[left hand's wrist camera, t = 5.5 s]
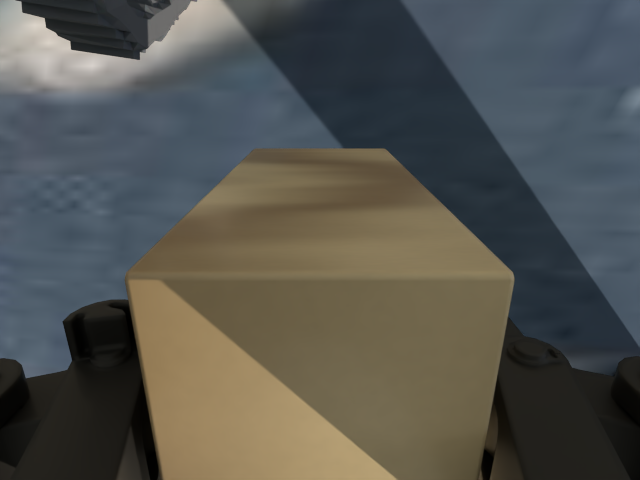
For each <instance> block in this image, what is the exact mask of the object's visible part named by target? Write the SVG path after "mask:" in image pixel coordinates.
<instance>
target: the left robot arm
mask: <svg viewBox="0 0 640 480" xmlns="http://www.w3.org/2000/svg"><path fill="white" fill-rule="evenodd" d="M63 325H64V329H65V333H66V337H67V341H68V345H69V349H70V353H71V357H72V362H71V364H70V366H69V368H68V370H65V371H61V372H57V373H52V374H46V375H41V376H36V377H31V378H25V374H24V371H23V368H22V365H21V364H20V363H19V362H17V361H16V360H12V359H5V358H2V359H0V480H161V478H160V472H159V467H158V461H157V455H156V450H155V444H154V439H153V433H152V428H151V422H150V417H149V411H148V406H147V400H146V395H145V389H144V384H143V378H142V372H141V367H140V361H139V356H138V350H137V345H136V339H135V334H134V328H133V323H132V317H131V312H130V306H129V301H128V300H108V301H102V302H97V303H94V304H91V305H88V306H85V307H82V308H80V309H78V310H77V311H75V312H73V313H71V314H70V315H69V316H68V317H67V318H66V319H65V320H64V321H63ZM479 480H640V357H639V356H635V357H628V358H624V359H623V360H622V361H620V362H619V363H618V367H617V370H616V373H615V377H614V376H609V375H604V374H598V373H593V372H588V371H583V370H578V369H574V368H572V367H571V365H570V363H569V361H568V360H567V359H566V357H565V356H564V355H563V354H562V353H561V352H560V351H559V350H557V349H556V348H554V347H553V346H551V345H550V344H547V343H545V342H542V341H540V340H537V339H534V338H530V337H525V336H523V334H522V333H521V332H520V331H519V329H518V328H517V327H516V326H515V324H514V323H513V322H512V321H511V320H510V318H509V317H508V319H507V325H506V330H505V336H504V341H503V347H502V352H501V358H500V363H499V369H498V375H497V380H496V386H495V391H494V397H493V402H492V408H491V413H490V419H489V424H488V430H487V436H486V441H485V447H484V452H483V458H482V463H481V469H480V474H479Z"/></svg>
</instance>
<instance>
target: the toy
mask: <svg viewBox="0 0 640 480" xmlns="http://www.w3.org/2000/svg"><path fill="white" fill-rule="evenodd" d="M17 1H21V2H22V12H23V13H27V14H31V15H35V16H39V17H43V18H45V22H46V28H48V29H50V30H52V31H54V32H56V33H57V35H58V36H60V37H62V38H64V39H67V40H69V41H71V50H77V51H84V52H90V53H97V54H104V55H110V56H117V57H124V58H131V59H137V60H140V52H143V53H145V52H146V49H147V48H148V47H149V46H150V45H151V44H152V43H153V42H154V41H162V40H163V38H164V37H165V36H166V35H167V33H168V31H169V30H170V27H171V25H174V21H175V20H178V16H179V15H180V14H181V13H182V12H183V11H184V10H186V9H187V7H188V5H189V4H190V1H195V2H197V0H17Z"/></svg>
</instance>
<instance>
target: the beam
mask: <svg viewBox="0 0 640 480" xmlns="http://www.w3.org/2000/svg"><path fill="white" fill-rule="evenodd" d="M125 284H126V289H127V295H128V301H129V306H130V312H131V317H132V323H133V328H134V334H135V339H136V345H137V350H138V356H139V361H140V367H141V372H142V378H143V384H144V389H145V395H146V400H147V406H148V411H149V417H150V422H151V428H152V433H153V439H154V444H155V450H156V455H157V461H158V467H159V472H160V478H161V480H479V474H480V469H481V463H482V458H483V452H484V447H485V441H486V436H487V430H488V424H489V419H490V413H491V408H492V402H493V397H494V391H495V386H496V380H497V375H498V369H499V363H500V358H501V352H502V347H503V341H504V336H505V330H506V325H507V319H508V313H509V308H510V302H511V297H512V291H513V286H514V275H513V272H512V271H511V270H510V269H509V268H508V267H507V266H506V265H505V264H504V263H503V262H502V261H501V260H500V259H499V258H498V257H497V256H496V255H494V254H493V253H492V252H491V251H490V250H489V249H488V248H487V247H486V246H485V245H484V244H483V243H482V242H481V241H480V240H479V239H478V238H477V237H476V236H475V235H474V234H473V233H472V232H471V231H470V230H469V229H468V228H467V227H466V226H465V225H464V224H462V223H461V222H460V221H459V220H458V219H457V218H456V217H455V216H454V215H453V214H452V213H451V212H450V211H449V210H448V209H447V208H446V207H445V206H444V205H443V204H442V203H441V202H440V201H439V200H438V199H437V198H436V197H435V196H434V195H433V194H432V193H430V192H429V191H428V190H427V189H426V188H425V187H424V186H423V185H422V184H421V183H420V182H419V181H418V180H417V179H416V178H415V177H414V176H413V175H412V174H411V173H410V172H409V171H408V170H407V169H406V168H405V167H404V166H403V165H402V164H401V163H400V162H398V161H397V160H396V159H395V158H394V157H393V156H392V155H391V154H390V153H389V152H388V151H387V150H386V149H254V150H253V151H252V152H251V153H250V154H249V155H247V156H246V157H245V158H244V159H243V160H242V161H241V162H240V163H239V164H238V165H237V166H236V167H235V168H234V169H233V170H232V171H231V172H230V173H229V174H228V175H227V176H226V177H225V178H224V179H223V180H222V181H221V182H220V183H218V184H217V185H216V186H215V187H214V188H213V189H212V190H211V191H210V192H209V193H208V194H207V195H206V196H205V197H204V198H203V199H202V200H201V201H200V202H199V203H198V204H197V205H196V206H195V207H194V208H193V209H192V210H190V211H189V212H188V213H187V214H186V215H185V216H184V217H183V218H182V219H181V220H180V221H179V222H178V223H177V224H176V225H175V226H174V227H173V228H172V229H171V230H170V231H169V232H168V233H167V234H166V235H165V236H164V237H163V238H161V239H160V240H159V241H158V242H157V243H156V244H155V245H154V246H153V247H152V248H151V249H150V250H149V251H148V252H147V253H146V254H145V255H144V256H143V257H142V258H141V259H140V260H139V261H138V262H137V263H136V264H135V265H134V266H132V267H131V268H130V269H129V270H128V271H127V272H126V276H125Z"/></svg>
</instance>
